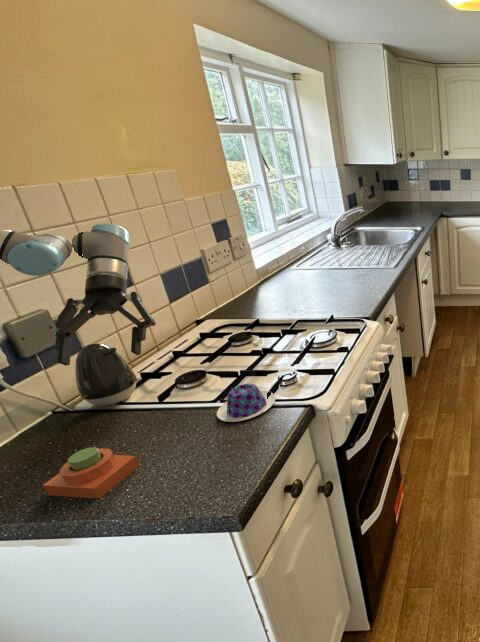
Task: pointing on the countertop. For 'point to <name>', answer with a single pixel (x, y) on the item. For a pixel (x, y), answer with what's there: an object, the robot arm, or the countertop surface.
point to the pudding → (245, 403)
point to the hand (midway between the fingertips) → (100, 358)
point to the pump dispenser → (103, 375)
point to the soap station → (92, 476)
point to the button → (84, 458)
